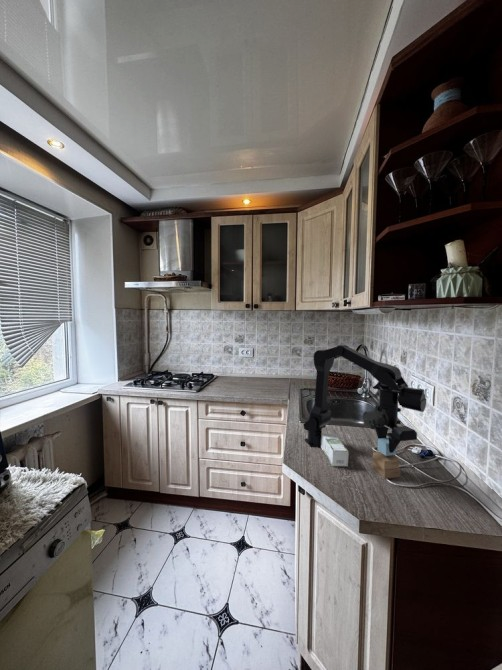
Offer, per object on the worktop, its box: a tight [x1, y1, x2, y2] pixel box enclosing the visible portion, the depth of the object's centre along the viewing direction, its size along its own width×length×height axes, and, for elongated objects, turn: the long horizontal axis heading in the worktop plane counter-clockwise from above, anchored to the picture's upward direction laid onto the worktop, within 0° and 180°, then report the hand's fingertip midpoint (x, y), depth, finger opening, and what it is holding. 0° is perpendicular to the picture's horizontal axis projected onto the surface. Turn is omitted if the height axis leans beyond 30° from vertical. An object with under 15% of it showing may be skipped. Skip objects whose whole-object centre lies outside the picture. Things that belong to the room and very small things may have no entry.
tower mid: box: [372, 451, 400, 470], centre depth 89 cm, size 6×6×3 cm
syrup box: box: [320, 433, 349, 467], centre depth 99 cm, size 6×6×14 cm
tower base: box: [371, 460, 402, 480], centre depth 89 cm, size 6×6×3 cm
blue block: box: [377, 437, 397, 456], centre depth 89 cm, size 4×4×4 cm
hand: (386, 449), depth 89 cm, fingers closed on blue block, 4 cm apart
